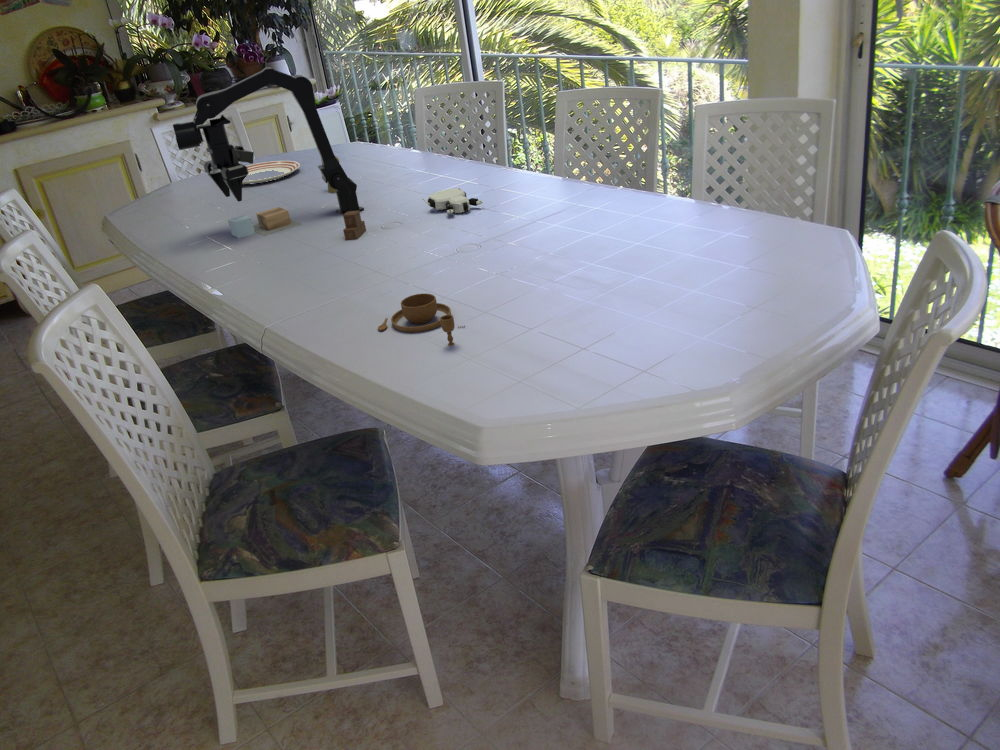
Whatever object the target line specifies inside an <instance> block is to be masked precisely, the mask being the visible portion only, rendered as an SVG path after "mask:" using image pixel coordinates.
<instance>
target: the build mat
mask: <svg viewBox="0 0 1000 750" xmlns="http://www.w3.org/2000/svg"><path fill="white" fill-rule="evenodd" d="M290 220H291V224H290V225H286V226H283V227H280V228H277V229H273V230H270V231H269V230H266V229H264V228H262V227H260V226H259V223H257V224H253V227H254V231H255V233H257V234H259V235H260V236H263V237H265V236H268V235H272V234H275V233H279V232H283V231H284V230H288V229H291V228H295V227H298V226H301V225H303V223H301V222H299V221H296V220H293V219H291V218H290Z"/></svg>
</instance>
